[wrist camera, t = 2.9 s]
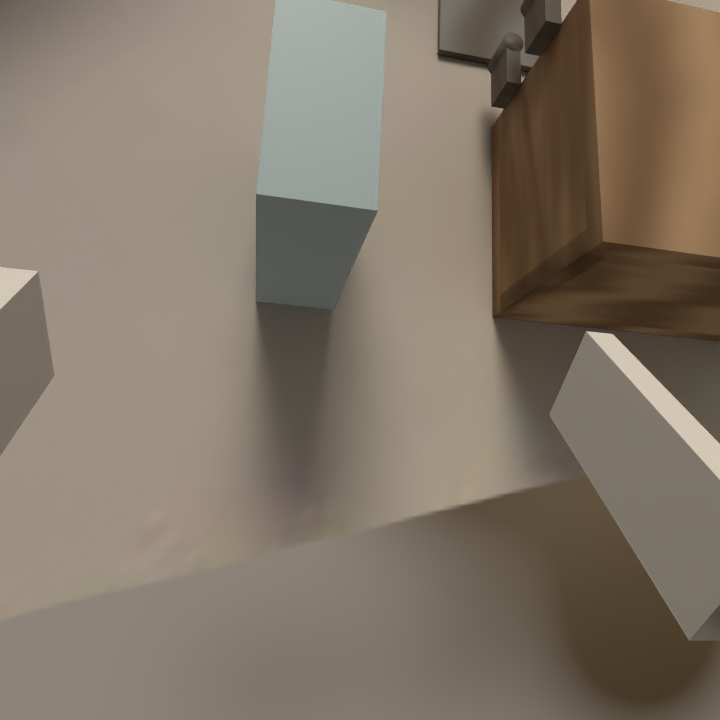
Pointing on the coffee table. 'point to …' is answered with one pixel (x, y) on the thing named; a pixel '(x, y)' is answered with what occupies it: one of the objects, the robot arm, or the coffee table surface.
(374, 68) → the door panel
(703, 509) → the robot arm
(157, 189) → the coffee table surface
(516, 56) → the cabinet
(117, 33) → the coffee table surface
